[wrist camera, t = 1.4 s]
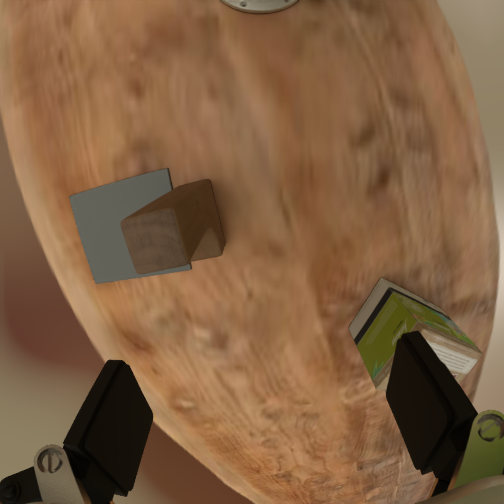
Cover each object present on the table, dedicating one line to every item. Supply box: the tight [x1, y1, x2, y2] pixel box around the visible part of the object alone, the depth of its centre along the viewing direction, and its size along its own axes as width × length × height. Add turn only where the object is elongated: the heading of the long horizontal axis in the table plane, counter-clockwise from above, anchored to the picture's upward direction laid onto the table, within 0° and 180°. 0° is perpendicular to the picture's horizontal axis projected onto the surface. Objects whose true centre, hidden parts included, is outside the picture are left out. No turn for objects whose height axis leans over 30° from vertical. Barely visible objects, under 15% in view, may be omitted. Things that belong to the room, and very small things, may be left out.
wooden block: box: [121, 179, 225, 275], centre depth 30 cm, size 9×4×18 cm, turn 12°
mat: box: [69, 168, 192, 284], centre depth 39 cm, size 16×14×1 cm
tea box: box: [349, 278, 483, 391], centre depth 37 cm, size 15×10×15 cm
